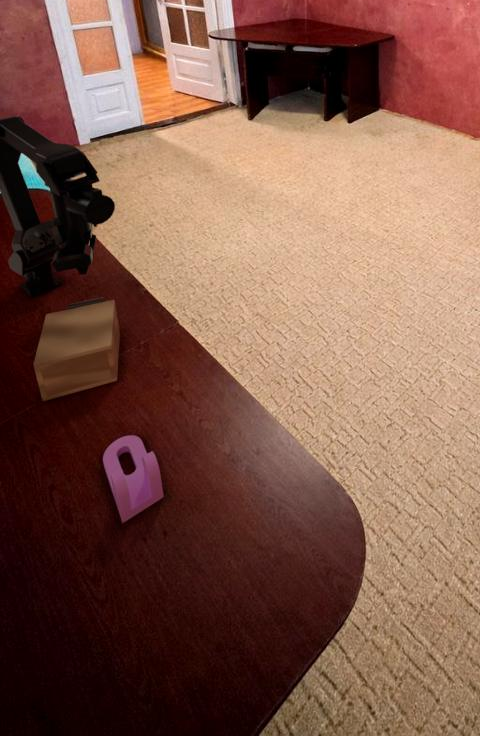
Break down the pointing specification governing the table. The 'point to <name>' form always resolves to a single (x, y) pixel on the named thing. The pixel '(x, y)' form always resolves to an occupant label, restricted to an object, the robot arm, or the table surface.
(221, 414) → the table surface
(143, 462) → the bracket
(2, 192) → the robot arm
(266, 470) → the table surface
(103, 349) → the cabinet
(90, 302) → the drawer
